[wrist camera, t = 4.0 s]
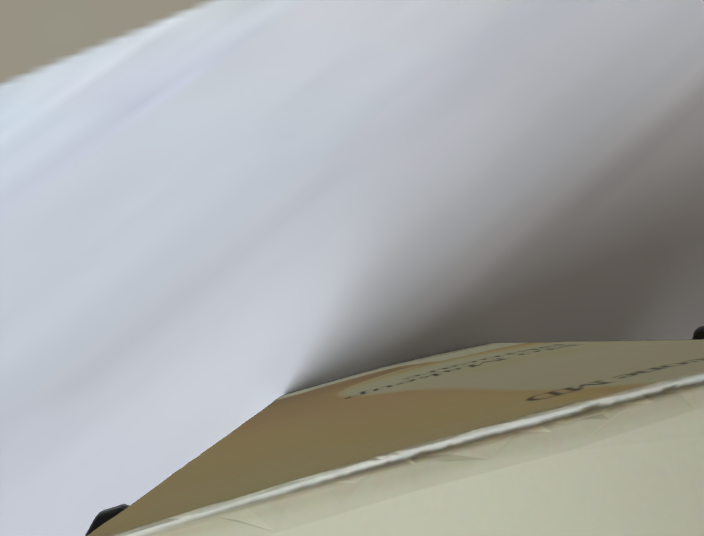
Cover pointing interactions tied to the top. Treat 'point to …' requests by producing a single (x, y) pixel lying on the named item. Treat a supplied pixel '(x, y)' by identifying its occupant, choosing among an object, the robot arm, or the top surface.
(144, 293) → the top surface
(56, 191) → the top surface
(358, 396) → the skincare box
